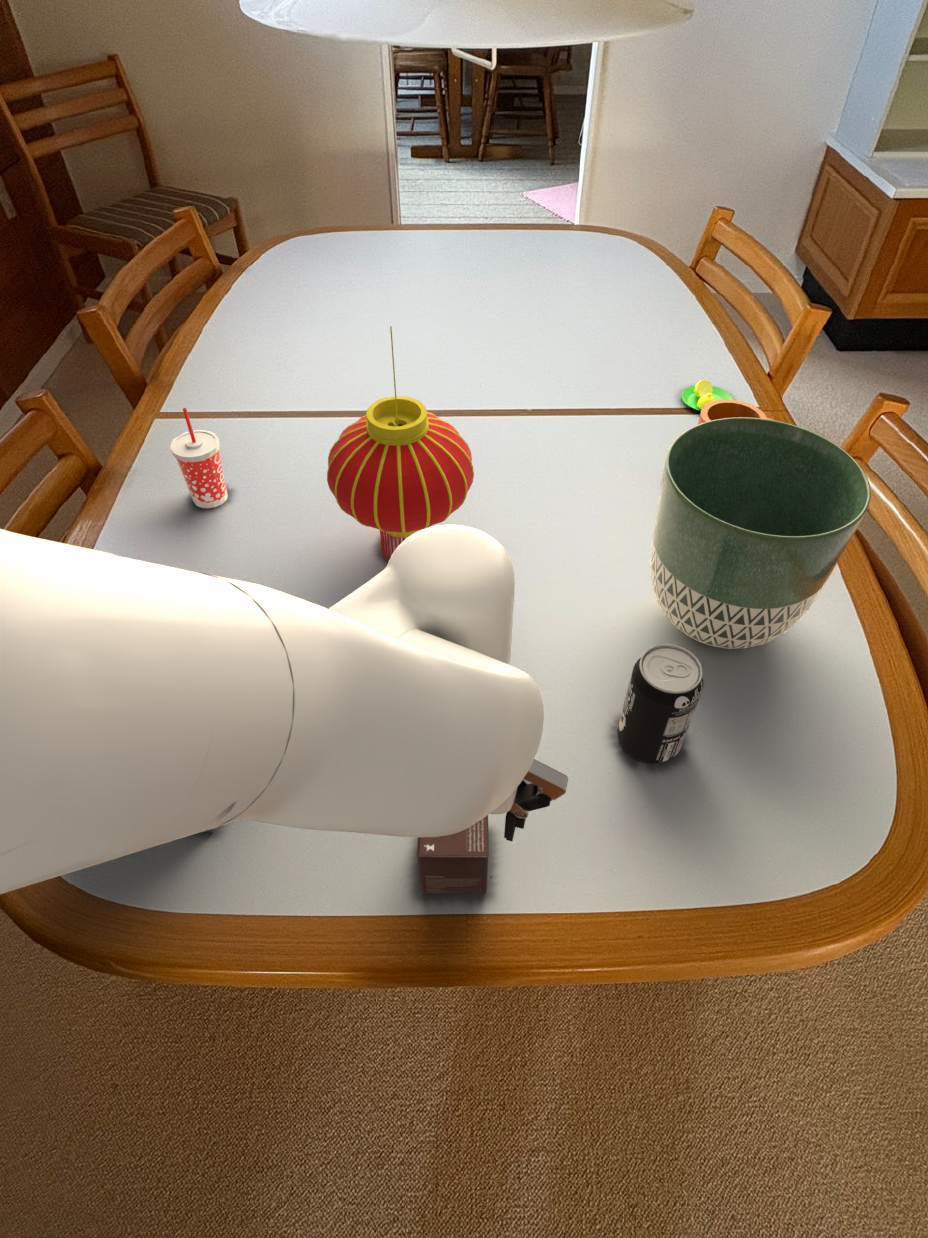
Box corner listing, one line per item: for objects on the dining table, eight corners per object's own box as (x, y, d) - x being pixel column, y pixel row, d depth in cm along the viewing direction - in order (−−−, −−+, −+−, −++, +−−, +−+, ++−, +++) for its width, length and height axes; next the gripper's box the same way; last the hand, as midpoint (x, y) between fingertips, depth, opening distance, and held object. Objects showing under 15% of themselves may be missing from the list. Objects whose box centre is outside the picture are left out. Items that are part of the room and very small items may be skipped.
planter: (673, 543, 102) (713, 396, 86) (822, 606, 94) (895, 458, 79) (601, 634, 91) (631, 486, 75) (763, 714, 83) (834, 567, 68)
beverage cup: (218, 516, 105) (192, 426, 95) (179, 506, 107) (149, 417, 96) (241, 489, 109) (219, 400, 99) (203, 480, 111) (176, 392, 100)
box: (487, 896, 70) (489, 858, 65) (419, 895, 70) (416, 857, 65) (486, 833, 74) (488, 793, 69) (422, 832, 74) (419, 792, 69)
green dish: (670, 394, 126) (674, 379, 124) (711, 383, 128) (715, 368, 126) (700, 420, 121) (705, 404, 119) (742, 408, 123) (747, 392, 121)
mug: (774, 497, 108) (794, 442, 102) (685, 485, 110) (700, 430, 104) (771, 459, 114) (790, 405, 108) (687, 448, 116) (701, 394, 109)
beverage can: (616, 711, 84) (634, 636, 75) (678, 718, 83) (705, 644, 74) (615, 763, 79) (635, 691, 70) (681, 771, 79) (710, 699, 70)
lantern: (486, 517, 105) (493, 299, 83) (450, 607, 94) (447, 382, 72) (367, 495, 108) (343, 279, 86) (318, 580, 97) (276, 356, 75)
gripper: (312, 707, 52) (342, 828, 65) (570, 763, 49) (549, 878, 62) (350, 625, 57) (372, 752, 70) (588, 671, 54) (565, 795, 67)
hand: (455, 811), depth 66 cm, fingers open, 9 cm apart
